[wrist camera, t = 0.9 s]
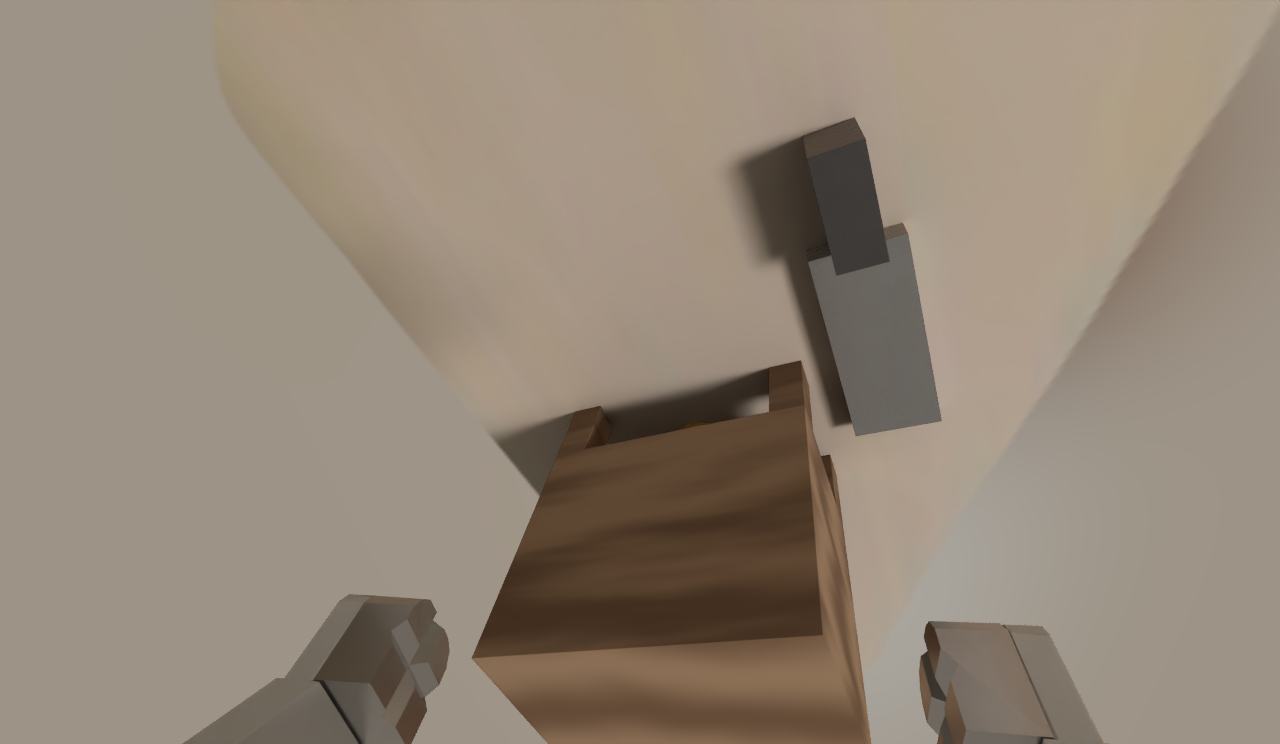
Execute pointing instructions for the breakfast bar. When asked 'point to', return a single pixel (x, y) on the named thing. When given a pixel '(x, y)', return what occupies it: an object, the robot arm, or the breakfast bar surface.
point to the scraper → (868, 290)
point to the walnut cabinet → (685, 588)
